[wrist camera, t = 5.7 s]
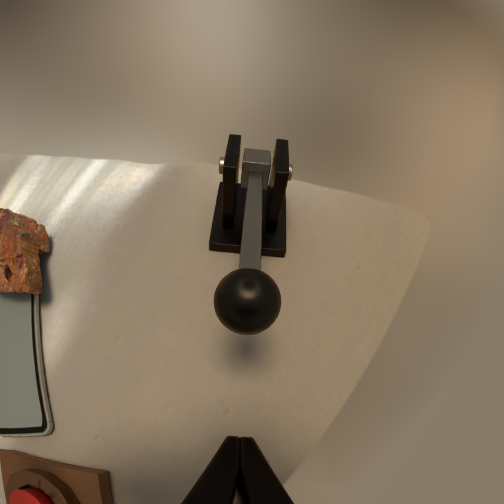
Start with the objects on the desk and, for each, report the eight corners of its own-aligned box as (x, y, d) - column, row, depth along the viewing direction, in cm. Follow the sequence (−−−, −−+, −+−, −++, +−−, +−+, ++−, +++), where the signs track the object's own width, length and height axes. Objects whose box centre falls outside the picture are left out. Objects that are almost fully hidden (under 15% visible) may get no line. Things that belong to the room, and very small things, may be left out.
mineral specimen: (79, 226, 27) (36, 214, 20) (65, 301, 26) (21, 306, 19) (9, 209, 27) (-30, 198, 20) (-2, 272, 27) (-42, 271, 20)
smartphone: (-6, 436, 15) (-15, 291, 22) (-1, 436, 16) (-10, 295, 23) (52, 434, 17) (36, 276, 24) (57, 434, 18) (40, 280, 25)
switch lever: (276, 349, 14) (287, 310, 12) (210, 343, 14) (209, 303, 12) (272, 179, 27) (276, 147, 25) (236, 175, 27) (239, 143, 25)
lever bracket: (284, 257, 29) (304, 191, 21) (209, 250, 28) (205, 182, 21) (283, 195, 33) (298, 130, 26) (219, 189, 33) (220, 121, 26)
